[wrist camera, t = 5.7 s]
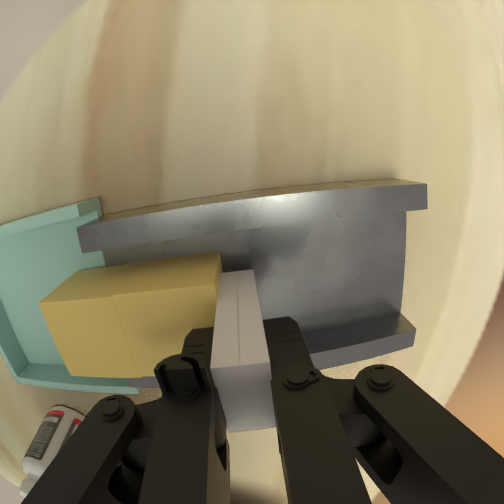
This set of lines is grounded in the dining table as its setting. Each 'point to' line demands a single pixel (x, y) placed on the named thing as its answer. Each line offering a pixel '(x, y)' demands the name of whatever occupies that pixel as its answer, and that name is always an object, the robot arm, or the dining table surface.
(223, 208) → the slot rail
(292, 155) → the dining table surface
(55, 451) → the pill bottle
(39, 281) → the tray
